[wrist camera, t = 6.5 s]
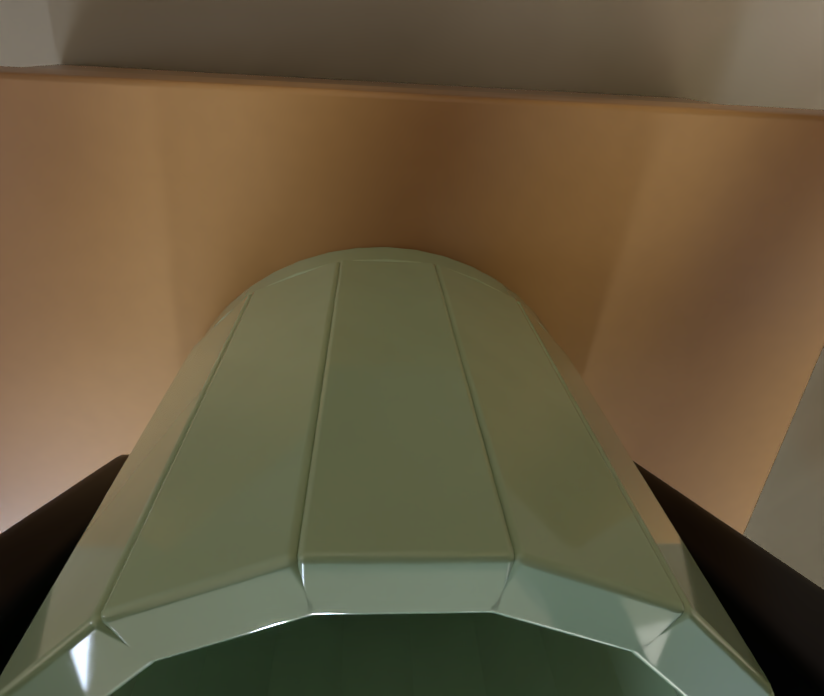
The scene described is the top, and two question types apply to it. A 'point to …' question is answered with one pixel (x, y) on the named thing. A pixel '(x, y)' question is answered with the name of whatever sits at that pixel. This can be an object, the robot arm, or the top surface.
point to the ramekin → (380, 515)
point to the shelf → (407, 247)
